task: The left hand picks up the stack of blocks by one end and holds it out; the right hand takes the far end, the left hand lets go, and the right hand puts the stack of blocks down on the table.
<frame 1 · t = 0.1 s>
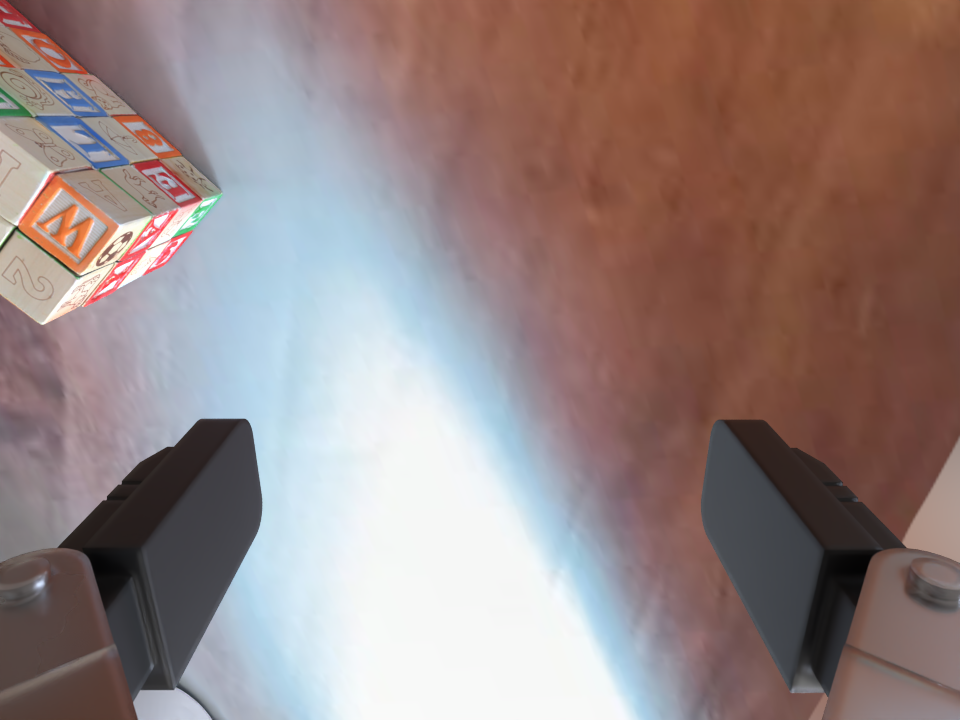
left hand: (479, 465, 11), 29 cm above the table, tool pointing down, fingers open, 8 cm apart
stack of blocks: (41, 96, 36), on the table
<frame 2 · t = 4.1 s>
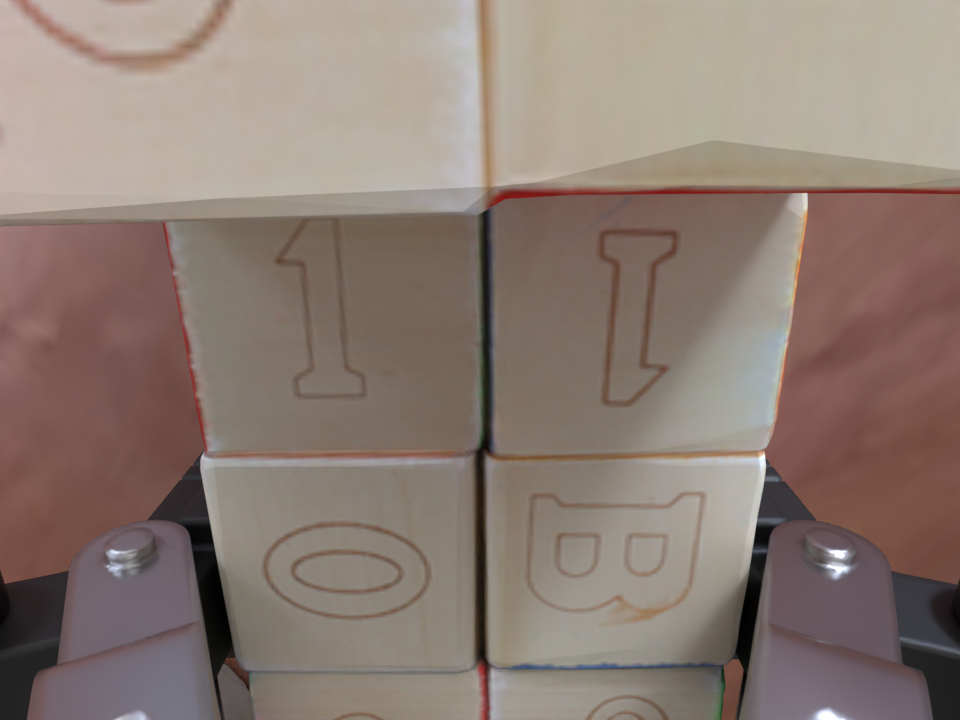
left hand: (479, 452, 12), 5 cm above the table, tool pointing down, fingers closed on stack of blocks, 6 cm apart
stack of blocks: (478, 56, 14), on the table, touching left hand
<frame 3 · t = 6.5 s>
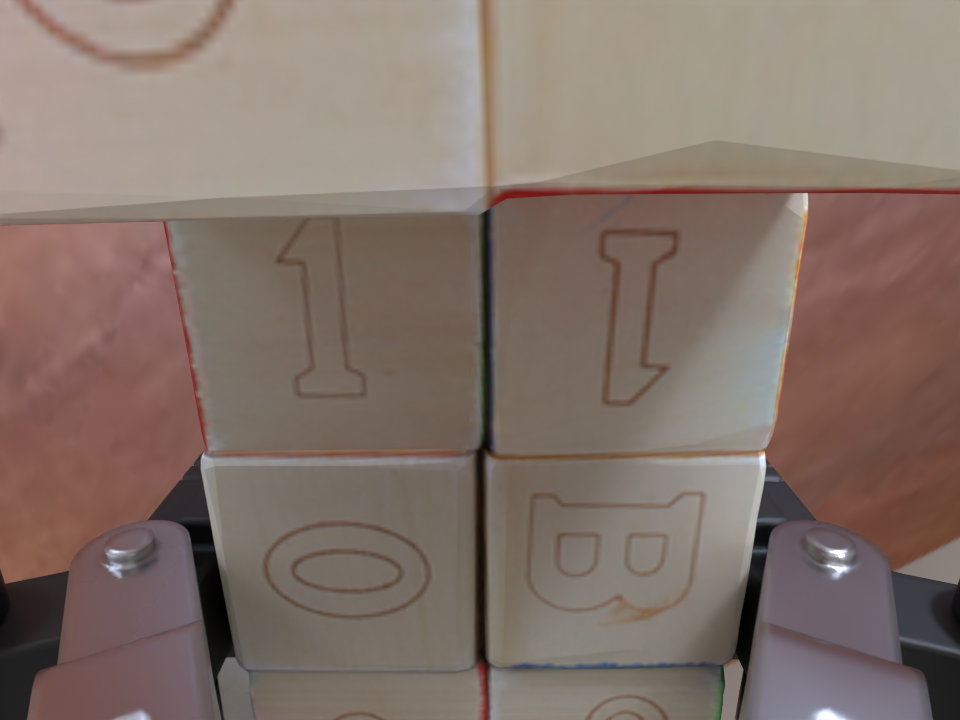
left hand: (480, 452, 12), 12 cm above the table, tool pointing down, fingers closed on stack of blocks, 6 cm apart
mineral specimen: (255, 581, 28), on the table
stack of blocks: (478, 56, 14), point 7 cm above the table, touching left hand
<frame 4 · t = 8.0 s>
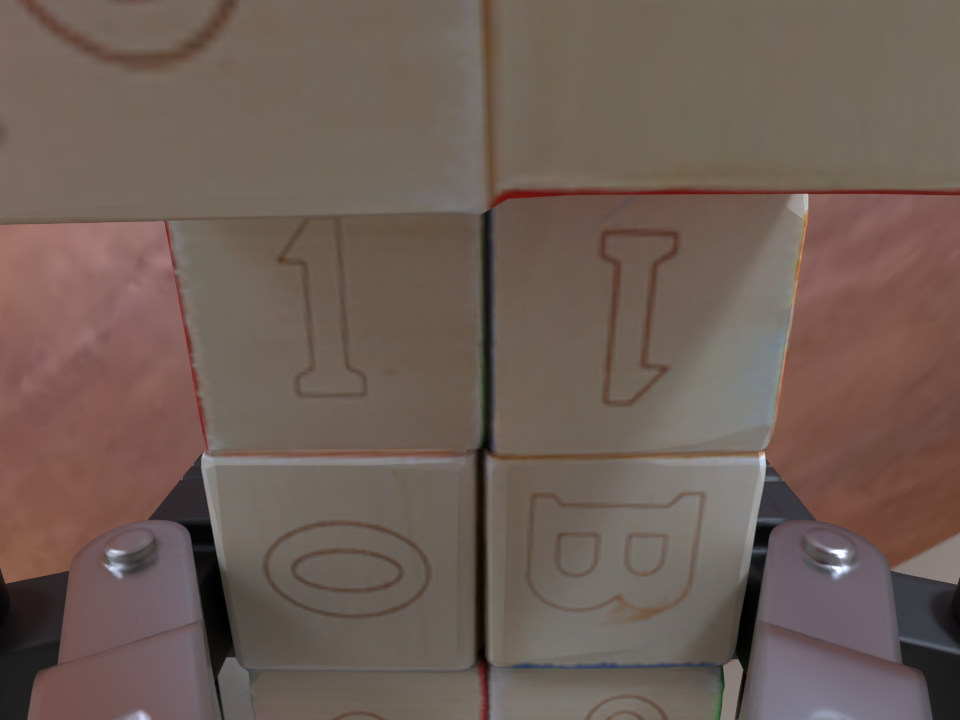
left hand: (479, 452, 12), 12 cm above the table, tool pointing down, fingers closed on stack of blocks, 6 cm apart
mineral specimen: (252, 581, 28), on the table
stack of blocks: (479, 56, 14), point 7 cm above the table, touching left hand, right hand
when the left hand's fingers open (12 cm above the table, at t = 9.4 s): stack of blocks moves 1 cm, held by the right hand.
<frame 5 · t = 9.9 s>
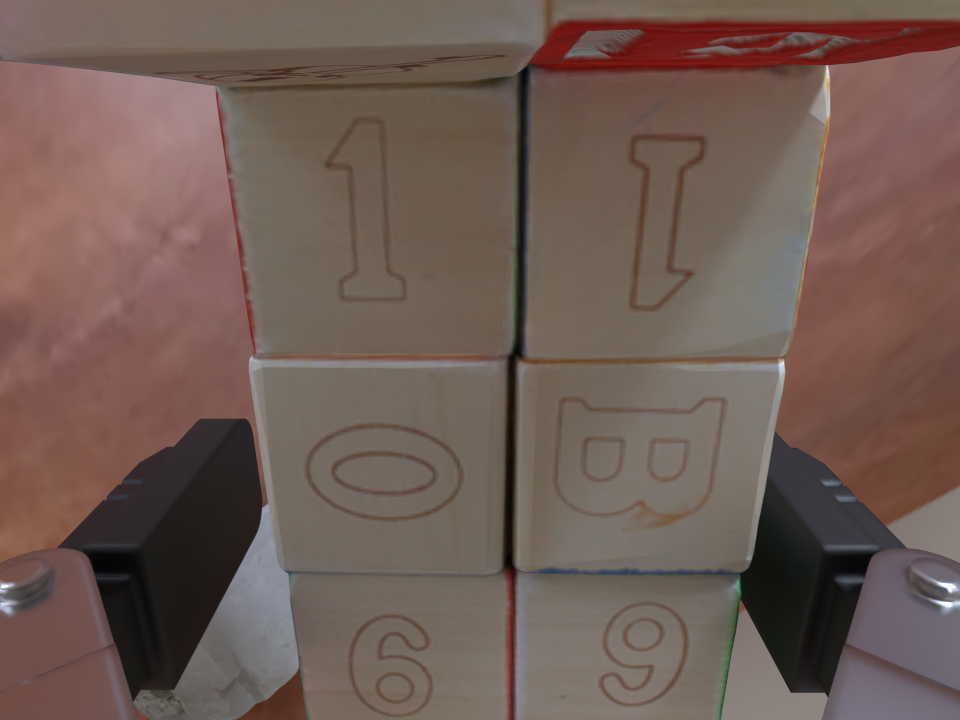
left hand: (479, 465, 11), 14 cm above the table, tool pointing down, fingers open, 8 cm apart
mineral specimen: (265, 542, 29), on the table
stack of blocks: (504, 11, 14), point 8 cm above the table, touching right hand
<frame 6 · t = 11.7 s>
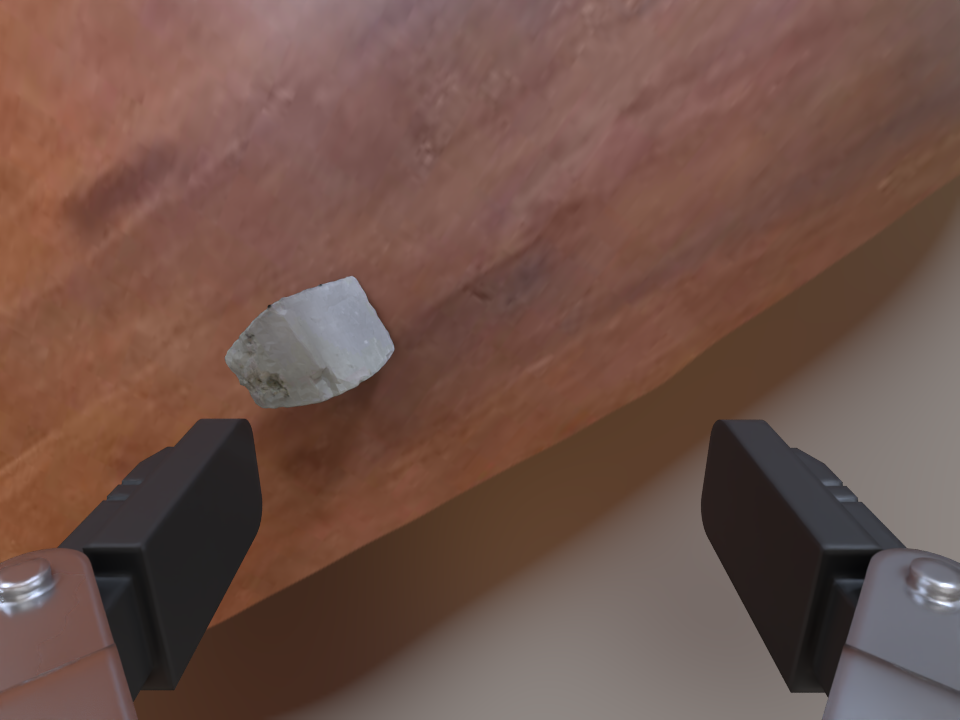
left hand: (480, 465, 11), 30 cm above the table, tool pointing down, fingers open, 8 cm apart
mineral specimen: (328, 327, 42), on the table
when the right hand's fingers open (8 cm above the table, at t = 15.3 s): stack of blocks stays where it is, on the table.
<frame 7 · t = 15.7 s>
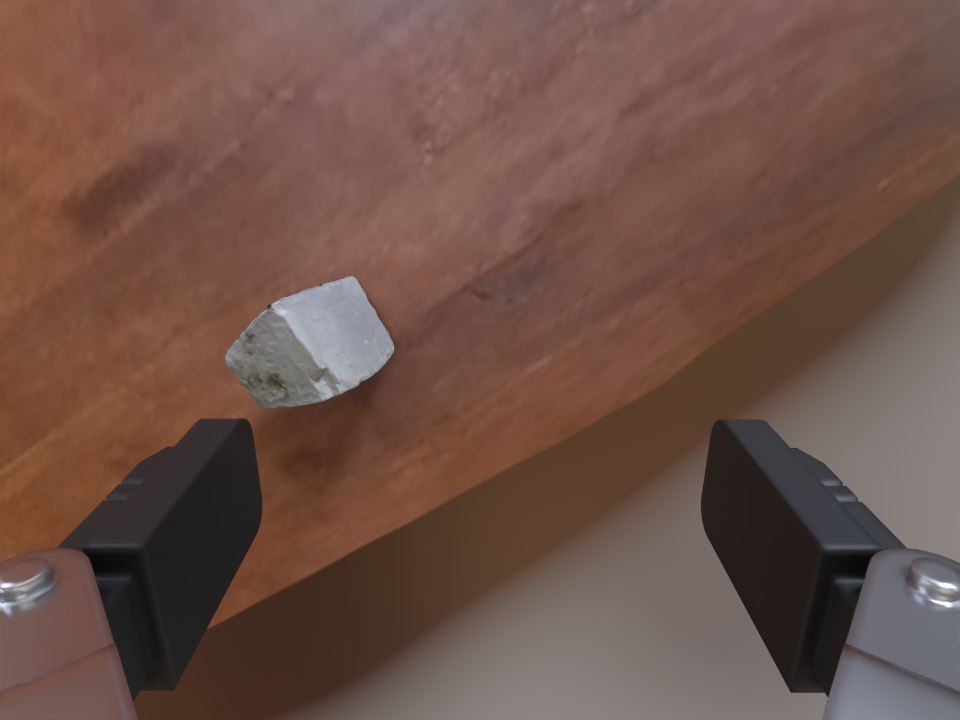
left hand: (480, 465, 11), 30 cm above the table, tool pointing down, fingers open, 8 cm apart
mineral specimen: (328, 327, 42), on the table
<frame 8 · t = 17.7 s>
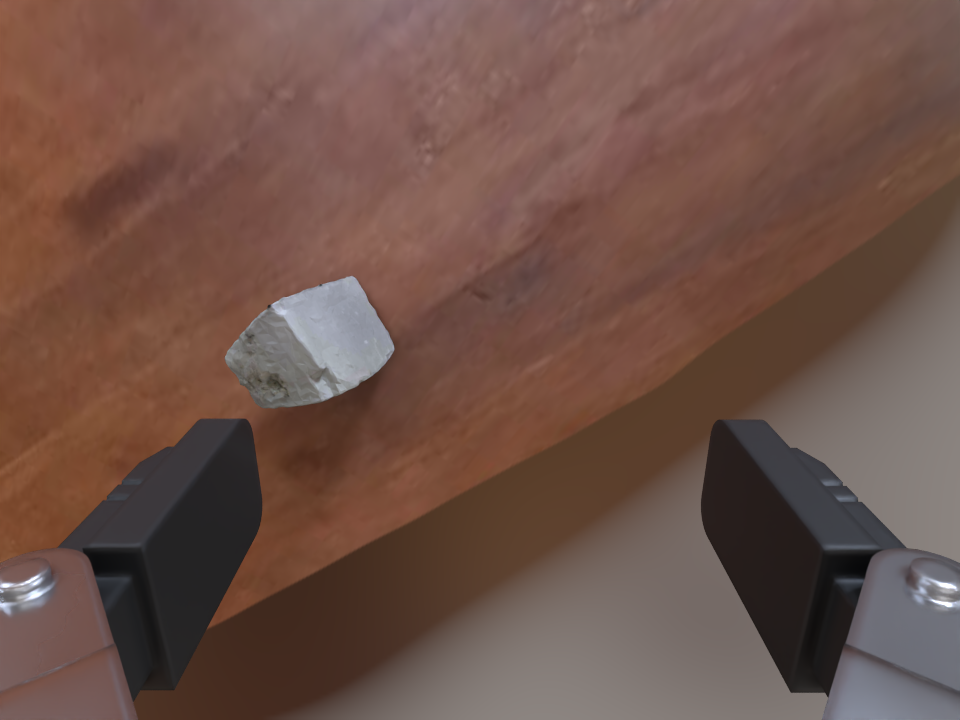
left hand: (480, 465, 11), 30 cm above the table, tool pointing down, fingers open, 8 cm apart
mineral specimen: (328, 327, 42), on the table
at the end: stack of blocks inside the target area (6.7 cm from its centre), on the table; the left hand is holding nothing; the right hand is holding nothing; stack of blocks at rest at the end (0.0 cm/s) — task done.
